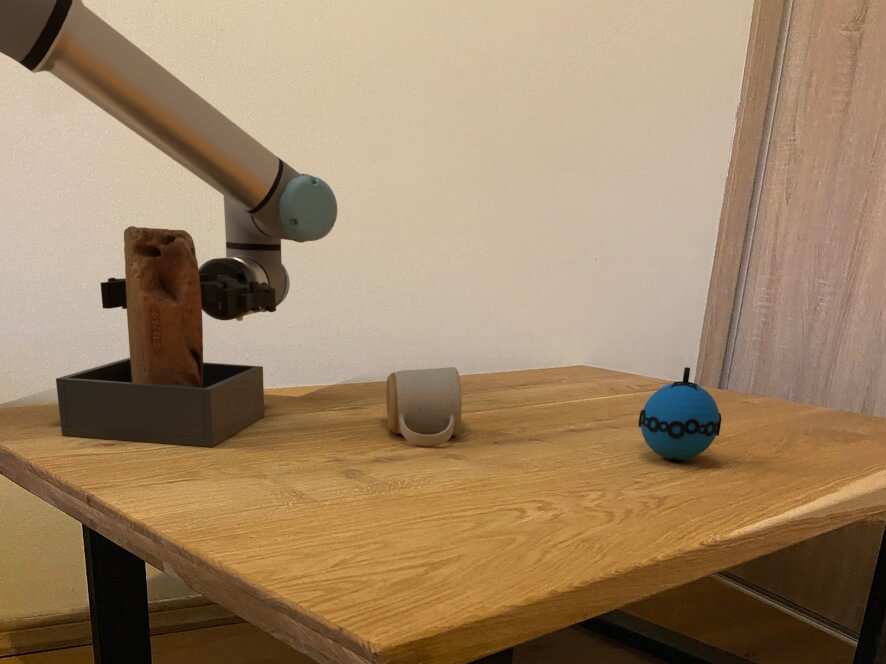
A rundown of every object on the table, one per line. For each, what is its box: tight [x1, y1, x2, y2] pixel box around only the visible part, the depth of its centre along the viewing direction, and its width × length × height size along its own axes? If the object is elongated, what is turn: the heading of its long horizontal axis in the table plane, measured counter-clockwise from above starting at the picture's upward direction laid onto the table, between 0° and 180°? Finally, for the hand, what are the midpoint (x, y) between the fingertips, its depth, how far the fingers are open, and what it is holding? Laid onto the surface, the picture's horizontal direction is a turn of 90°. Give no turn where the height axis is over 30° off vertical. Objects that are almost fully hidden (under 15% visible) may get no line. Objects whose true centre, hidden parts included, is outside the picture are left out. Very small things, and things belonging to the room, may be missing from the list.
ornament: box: [638, 366, 722, 462], centre depth 100 cm, size 9×9×10 cm
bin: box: [55, 357, 265, 448], centre depth 105 cm, size 17×18×6 cm
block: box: [123, 225, 204, 388], centre depth 102 cm, size 11×8×20 cm
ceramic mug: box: [385, 366, 463, 447], centre depth 105 cm, size 11×8×8 cm
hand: (164, 299), depth 101 cm, fingers open, 13 cm apart
